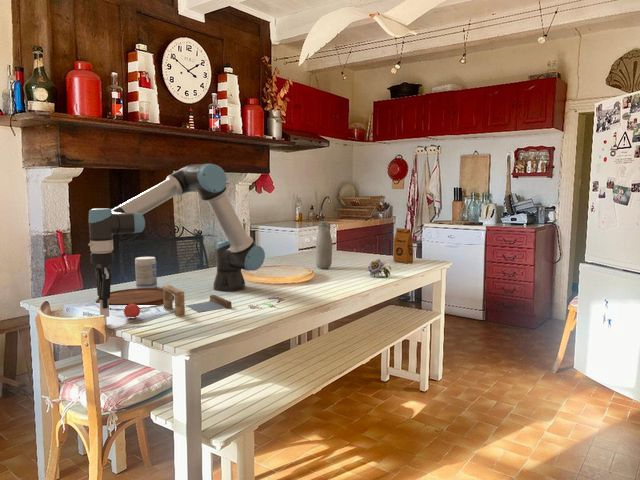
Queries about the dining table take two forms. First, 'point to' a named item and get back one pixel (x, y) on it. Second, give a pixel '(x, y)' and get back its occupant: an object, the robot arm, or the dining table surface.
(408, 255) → the coffee package
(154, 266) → the supplement tub
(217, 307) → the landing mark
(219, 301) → the kerb
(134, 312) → the ball
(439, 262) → the dining table surface
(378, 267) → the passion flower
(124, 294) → the cutting board
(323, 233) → the grey bottle
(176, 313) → the bridge
